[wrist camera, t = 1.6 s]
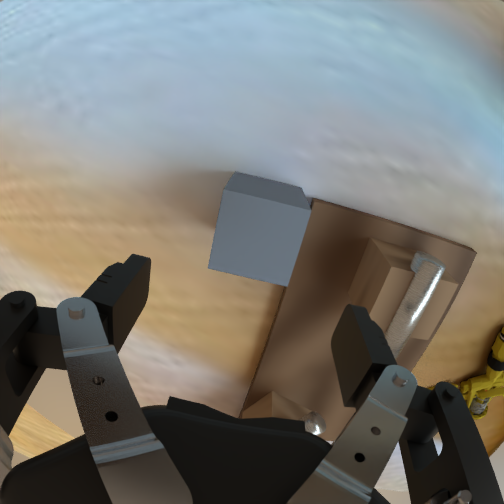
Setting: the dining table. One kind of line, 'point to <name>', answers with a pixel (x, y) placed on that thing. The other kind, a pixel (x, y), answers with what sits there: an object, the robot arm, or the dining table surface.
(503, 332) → the sprinkler
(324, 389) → the base board
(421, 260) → the shaft
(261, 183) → the block
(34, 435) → the dining table surface
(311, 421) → the shaft
